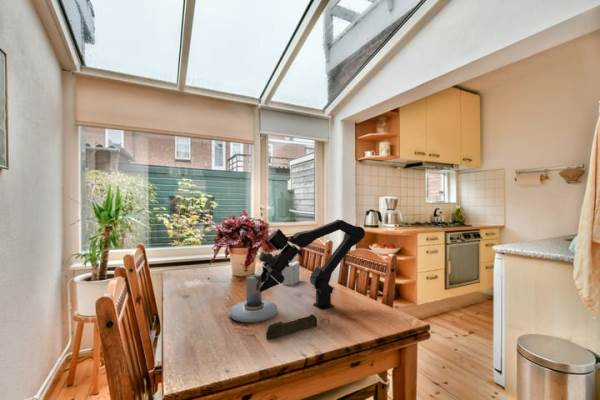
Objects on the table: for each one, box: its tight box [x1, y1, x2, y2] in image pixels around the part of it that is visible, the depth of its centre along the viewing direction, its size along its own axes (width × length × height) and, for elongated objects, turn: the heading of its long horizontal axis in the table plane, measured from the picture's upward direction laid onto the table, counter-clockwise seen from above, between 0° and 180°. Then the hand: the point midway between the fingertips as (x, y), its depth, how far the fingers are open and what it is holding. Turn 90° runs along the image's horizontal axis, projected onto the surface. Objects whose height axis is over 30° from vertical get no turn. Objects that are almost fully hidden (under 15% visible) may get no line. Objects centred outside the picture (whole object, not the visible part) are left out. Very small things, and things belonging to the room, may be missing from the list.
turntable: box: [230, 299, 278, 323], centre depth 111 cm, size 18×18×2 cm
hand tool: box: [265, 314, 318, 340], centre depth 96 cm, size 19×4×5 cm, turn 120°
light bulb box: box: [281, 260, 301, 287], centre depth 155 cm, size 11×7×11 cm, turn 161°
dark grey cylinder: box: [244, 274, 264, 311], centre depth 112 cm, size 8×8×12 cm
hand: (258, 287), depth 112 cm, fingers open, 9 cm apart
